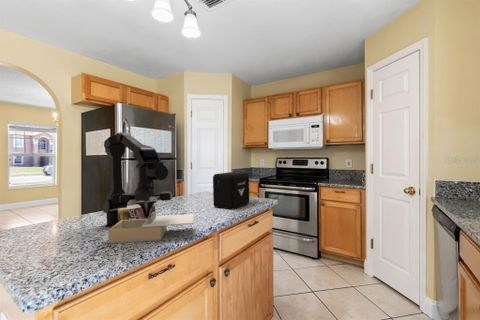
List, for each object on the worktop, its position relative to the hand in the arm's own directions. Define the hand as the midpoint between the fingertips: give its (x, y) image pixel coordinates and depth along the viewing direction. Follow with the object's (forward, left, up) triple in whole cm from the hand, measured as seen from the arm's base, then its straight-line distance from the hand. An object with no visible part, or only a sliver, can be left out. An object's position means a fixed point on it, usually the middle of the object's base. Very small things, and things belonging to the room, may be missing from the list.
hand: (147, 218), depth 92 cm
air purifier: (+39, +47, -7) cm, 62 cm away
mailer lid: (+9, 0, -1) cm, 9 cm away
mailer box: (-3, 0, -7) cm, 7 cm away
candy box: (0, +17, -2) cm, 17 cm away
